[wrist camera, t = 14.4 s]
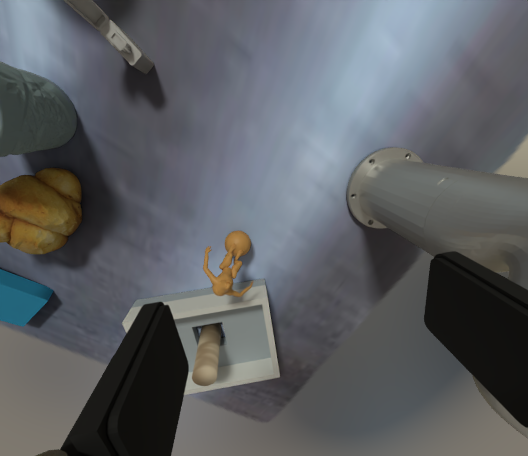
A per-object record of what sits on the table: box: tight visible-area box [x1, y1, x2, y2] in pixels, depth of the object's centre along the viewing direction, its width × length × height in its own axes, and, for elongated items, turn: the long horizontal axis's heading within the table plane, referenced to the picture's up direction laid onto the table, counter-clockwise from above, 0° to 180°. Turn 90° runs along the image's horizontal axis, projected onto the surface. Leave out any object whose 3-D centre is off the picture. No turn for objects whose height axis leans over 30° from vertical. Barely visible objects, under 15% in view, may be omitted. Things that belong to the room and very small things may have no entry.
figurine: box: [203, 231, 253, 297], centre depth 35 cm, size 8×6×12 cm
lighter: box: [64, 0, 154, 74], centre depth 27 cm, size 7×2×8 cm, turn 42°
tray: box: [122, 279, 280, 395], centre depth 43 cm, size 22×17×6 cm
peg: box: [192, 323, 221, 386], centre depth 41 cm, size 4×4×10 cm
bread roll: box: [0, 168, 82, 254], centre depth 32 cm, size 13×10×8 cm
